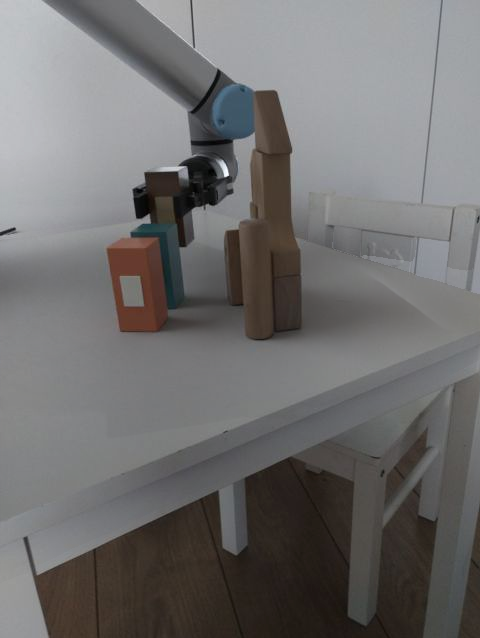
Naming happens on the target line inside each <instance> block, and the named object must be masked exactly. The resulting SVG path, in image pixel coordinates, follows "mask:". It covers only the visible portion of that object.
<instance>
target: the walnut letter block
mask: <svg viewBox="0 0 480 638" xmlns="http://www.w3.org/2000/svg"><path fill="white" fill-rule="evenodd" d="M143 176H144V183H145V184H146V191H147V199H148V206H149V214H148V215H149V221H150V223H177V231H178V240H179V248H187V247H188V246H189V245H191V243H192V242H193V241H194V240H195V229H194V220H193V219H194V218H193V209H192V210H191V211H190V212H189V213H187V214H186V215H185V216H184V217H182V218H176V214H175V205H174V196H175V195H177V194H178V193H180V192H182V191H183V190H185V189H186V188H189V179H188V169H187V166H181V167H178V166H158V167H157V166H155V167H153V168H151V169H148V170H147V171H144V172H143Z"/></svg>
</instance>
